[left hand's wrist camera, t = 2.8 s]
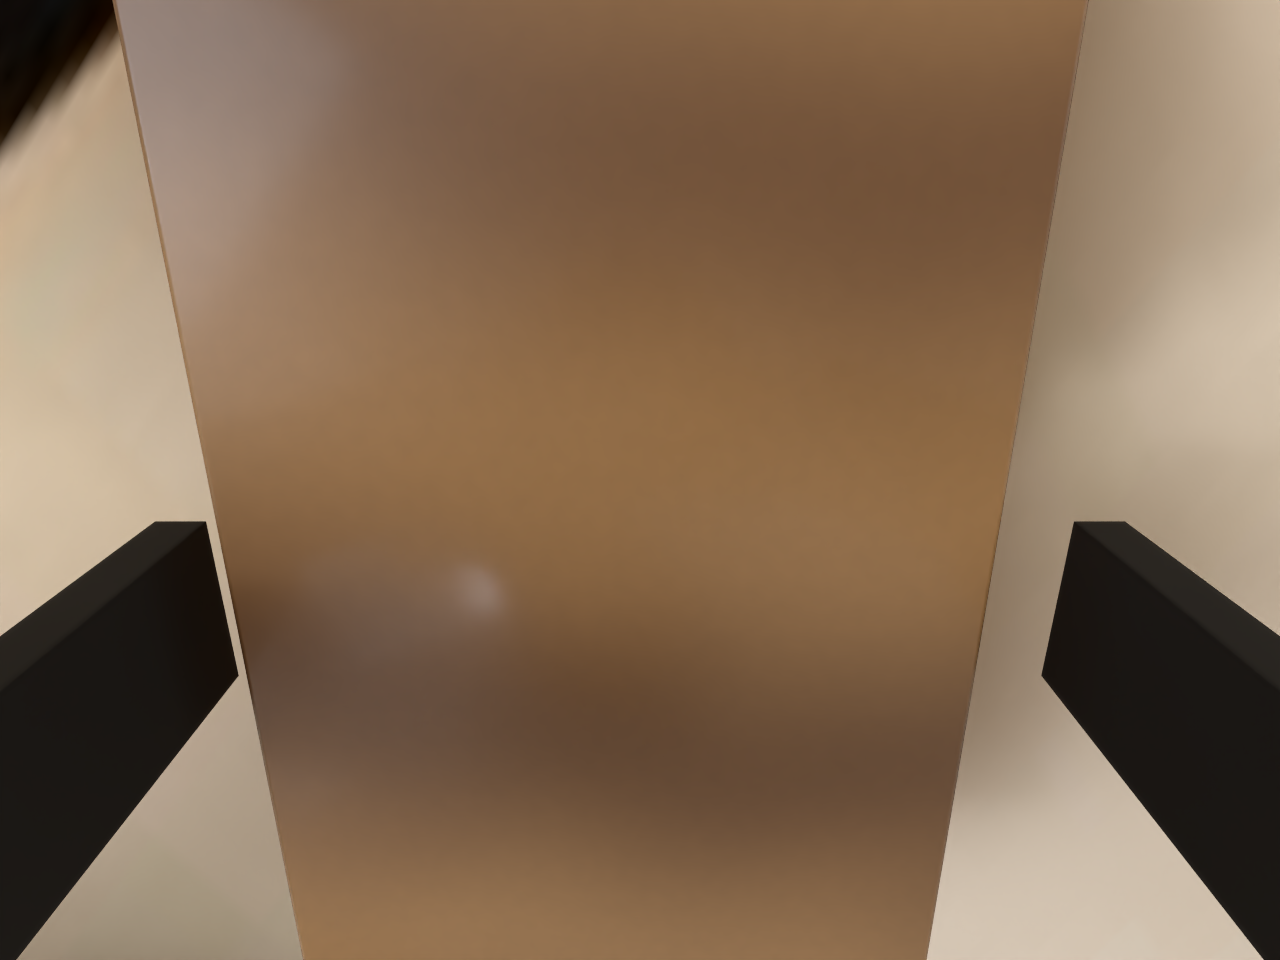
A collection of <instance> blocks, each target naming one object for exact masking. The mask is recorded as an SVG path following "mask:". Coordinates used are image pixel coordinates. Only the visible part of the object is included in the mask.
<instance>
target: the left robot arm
mask: <svg viewBox="0 0 1280 960" xmlns="http://www.w3.org/2000/svg"><path fill="white" fill-rule="evenodd" d="M238 676H239V675H238V671H237V666H236V661H235V656H234V652H233V647H232V642H231V638H230V633H229V628H228V623H227V619H226V614H225V609H224V605H223V600H222V595H221V590H220V586H219V581H218V576H217V572H216V567H215V562H214V558H213V553H212V548H211V543H210V539H209V534H208V529H207V525H206V522H154V523H153V524H151V525H150V526H149V527H147V528H146V529H144V530H143V531H142V532H140V533H139V534H138V535H136V536H135V537H134V538H132V539H131V540H130V541H128V542H127V543H126V544H124V545H123V546H122V547H120V548H119V549H117V550H116V551H115V552H113V553H112V554H111V555H109V556H108V557H107V558H105V559H104V560H103V561H101V562H100V563H99V564H97V565H96V566H94V567H93V568H92V569H90V570H89V571H88V572H86V573H85V574H84V575H82V576H81V577H80V578H78V579H77V580H76V581H74V582H73V583H72V584H70V585H69V586H67V587H66V588H65V589H63V590H62V591H61V592H59V593H58V594H57V595H55V596H54V597H53V598H51V599H50V600H49V601H47V602H46V603H45V604H43V605H42V606H40V607H39V608H38V609H36V610H35V611H34V612H32V613H31V614H30V615H28V616H27V617H26V618H24V619H23V620H22V621H20V622H19V623H18V624H16V625H15V626H13V627H12V628H11V629H9V630H8V631H7V632H5V633H4V634H3V635H1V636H0V960H16V959H17V958H18V957H19V955H20V954H21V953H22V952H23V950H24V949H25V948H26V947H27V945H28V944H29V943H30V941H31V940H32V939H33V938H34V936H35V935H36V934H37V932H38V931H39V930H40V929H41V927H42V926H43V925H44V924H45V922H46V921H47V920H48V918H49V917H50V916H51V915H52V913H53V912H54V911H55V909H56V908H57V907H58V906H59V904H60V903H61V902H62V901H63V899H64V898H65V897H66V895H67V894H68V893H69V892H70V890H71V889H72V888H73V886H74V885H75V884H76V883H77V881H78V880H79V879H80V878H81V876H82V875H83V874H84V872H85V871H86V870H87V869H88V867H89V866H90V865H91V863H92V862H93V861H94V860H95V858H96V857H97V856H98V855H99V853H100V852H101V851H102V849H103V848H104V847H105V846H106V844H107V843H108V842H109V840H110V839H111V838H112V837H113V835H114V834H115V833H116V832H117V830H118V829H119V828H120V826H121V825H122V824H123V823H124V821H125V820H126V819H127V817H128V816H129V815H130V814H131V812H132V811H133V810H134V809H135V807H136V806H137V805H138V803H139V802H140V801H141V800H142V798H143V797H144V796H145V794H146V793H147V792H148V791H149V789H150V788H151V787H152V786H153V784H154V783H155V782H156V780H157V779H158V778H159V777H160V775H161V774H162V773H163V771H164V770H165V769H166V768H167V766H168V765H169V764H170V763H171V761H172V760H173V759H174V757H175V756H176V755H177V754H178V752H179V751H180V750H181V748H182V747H183V746H184V745H185V743H186V742H187V741H188V740H189V738H190V737H191V736H192V734H193V733H194V732H195V731H196V729H197V728H198V727H199V725H200V724H201V723H202V722H203V720H204V719H205V718H206V717H207V715H208V714H209V713H210V711H211V710H212V709H213V708H214V706H215V705H216V704H217V702H218V701H219V700H220V699H221V697H222V696H223V695H224V694H225V692H226V691H227V690H228V688H229V687H230V686H231V685H232V683H233V682H234V681H235V679H236V678H237V677H238ZM1041 676H1042V677H1043V678H1044V679H1045V681H1046V682H1047V683H1048V685H1049V686H1050V687H1051V688H1052V690H1053V691H1054V692H1055V694H1056V695H1057V696H1058V697H1059V699H1060V700H1061V701H1062V702H1063V704H1064V705H1065V706H1066V708H1067V709H1068V710H1069V711H1070V713H1071V714H1072V715H1073V717H1074V718H1075V719H1076V720H1077V722H1078V723H1079V724H1080V725H1081V727H1082V728H1083V729H1084V731H1085V732H1086V733H1087V734H1088V736H1089V737H1090V738H1091V740H1092V741H1093V742H1094V743H1095V745H1096V746H1097V747H1098V748H1099V750H1100V751H1101V752H1102V754H1103V755H1104V756H1105V757H1106V759H1107V760H1108V761H1109V763H1110V764H1111V765H1112V766H1113V768H1114V769H1115V770H1116V771H1117V773H1118V774H1119V775H1120V777H1121V778H1122V779H1123V780H1124V782H1125V783H1126V784H1127V786H1128V787H1129V788H1130V789H1131V791H1132V792H1133V793H1134V794H1135V796H1136V797H1137V798H1138V800H1139V801H1140V802H1141V803H1142V805H1143V806H1144V807H1145V809H1146V810H1147V811H1148V812H1149V814H1150V815H1151V816H1152V817H1153V819H1154V820H1155V821H1156V823H1157V824H1158V825H1159V826H1160V828H1161V829H1162V830H1163V832H1164V833H1165V834H1166V835H1167V837H1168V838H1169V839H1170V840H1171V842H1172V843H1173V844H1174V846H1175V847H1176V848H1177V849H1178V851H1179V852H1180V853H1181V855H1182V856H1183V857H1184V858H1185V860H1186V861H1187V862H1188V863H1189V865H1190V866H1191V867H1192V869H1193V870H1194V871H1195V872H1196V874H1197V875H1198V876H1199V878H1200V879H1201V880H1202V881H1203V883H1204V884H1205V885H1206V886H1207V888H1208V889H1209V890H1210V892H1211V893H1212V894H1213V895H1214V897H1215V898H1216V899H1217V901H1218V902H1219V903H1220V904H1221V906H1222V907H1223V908H1224V909H1225V911H1226V912H1227V913H1228V915H1229V916H1230V917H1231V918H1232V920H1233V921H1234V922H1235V924H1236V925H1237V926H1238V927H1239V929H1240V930H1241V931H1242V932H1243V934H1244V935H1245V936H1246V938H1247V939H1248V940H1249V941H1250V943H1251V944H1252V945H1253V947H1254V948H1255V949H1256V950H1257V952H1258V953H1259V954H1260V955H1261V957H1262V958H1263V959H1264V960H1280V636H1279V635H1277V634H1276V633H1275V632H1273V631H1272V630H1271V629H1269V628H1268V627H1267V626H1265V625H1264V624H1262V623H1261V622H1260V621H1258V620H1257V619H1256V618H1254V617H1253V616H1252V615H1250V614H1249V613H1248V612H1246V611H1245V610H1244V609H1242V608H1241V607H1240V606H1238V605H1237V604H1235V603H1234V602H1233V601H1231V600H1230V599H1229V598H1227V597H1226V596H1225V595H1223V594H1222V593H1221V592H1219V591H1218V590H1217V589H1215V588H1214V587H1213V586H1211V585H1210V584H1208V583H1207V582H1206V581H1204V580H1203V579H1202V578H1200V577H1199V576H1198V575H1196V574H1195V573H1194V572H1192V571H1191V570H1190V569H1188V568H1187V567H1186V566H1184V565H1183V564H1181V563H1180V562H1179V561H1177V560H1176V559H1175V558H1173V557H1172V556H1171V555H1169V554H1168V553H1167V552H1165V551H1164V550H1163V549H1161V548H1160V547H1158V546H1157V545H1156V544H1154V543H1153V542H1152V541H1150V540H1149V539H1148V538H1146V537H1145V536H1144V535H1142V534H1141V533H1140V532H1138V531H1137V530H1136V529H1134V528H1133V527H1131V526H1130V525H1129V524H1127V523H1126V522H1074V525H1073V529H1072V534H1071V539H1070V543H1069V548H1068V553H1067V558H1066V562H1065V567H1064V572H1063V576H1062V581H1061V586H1060V590H1059V595H1058V600H1057V605H1056V609H1055V614H1054V619H1053V623H1052V628H1051V633H1050V638H1049V642H1048V647H1047V652H1046V656H1045V661H1044V666H1043V671H1042V675H1041Z"/></svg>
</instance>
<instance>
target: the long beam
mask: <svg viewBox="0 0 1280 960" xmlns="http://www.w3.org/2000/svg"><path fill="white" fill-rule="evenodd" d="M113 5H114V10H115V15H116V20H117V25H118V30H119V35H120V40H121V45H122V50H123V55H124V60H125V65H126V70H127V76H128V81H129V86H130V91H131V96H132V101H133V106H134V111H135V116H136V121H137V126H138V131H139V136H140V141H141V146H142V151H143V156H144V161H145V166H146V171H147V176H148V181H149V186H150V191H151V196H152V201H153V206H154V211H155V216H156V221H157V226H158V231H159V236H160V241H161V247H162V252H163V257H164V262H165V267H166V272H167V277H168V282H169V287H170V292H171V297H172V302H173V307H174V312H175V317H176V322H177V327H178V332H179V337H180V342H181V347H182V352H183V357H184V362H185V367H186V372H187V377H188V382H189V387H190V392H191V397H192V402H193V407H194V412H195V417H196V423H197V428H198V433H199V438H200V443H201V448H202V453H203V458H204V463H205V468H206V473H207V478H208V483H209V488H210V493H211V498H212V503H213V508H214V513H215V518H216V523H217V528H218V533H219V538H220V543H221V548H222V553H223V558H224V563H225V568H226V573H227V578H228V583H229V588H230V594H231V599H232V604H233V609H234V614H235V619H236V624H237V629H238V634H239V639H240V644H241V649H242V654H243V659H244V664H245V669H246V674H247V679H248V684H249V689H250V694H251V699H252V704H253V709H254V714H255V719H256V724H257V729H258V734H259V739H260V744H261V749H262V754H263V759H264V765H265V770H266V775H267V780H268V785H269V790H270V795H271V800H272V805H273V810H274V815H275V820H276V825H277V830H278V835H279V840H280V845H281V850H282V855H283V860H284V865H285V870H286V875H287V880H288V885H289V890H290V895H291V900H292V905H293V910H294V915H295V920H296V925H297V930H298V935H299V941H300V946H301V951H302V956H303V960H926V959H927V953H928V948H929V942H930V936H931V930H932V924H933V918H934V912H935V906H936V900H937V894H938V888H939V882H940V877H941V871H942V865H943V859H944V853H945V847H946V841H947V835H948V829H949V823H950V817H951V811H952V805H953V800H954V794H955V788H956V782H957V776H958V770H959V764H960V758H961V752H962V746H963V740H964V734H965V729H966V723H967V717H968V711H969V705H970V699H971V693H972V687H973V681H974V675H975V669H976V663H977V657H978V652H979V646H980V640H981V634H982V628H983V622H984V616H985V610H986V604H987V598H988V592H989V586H990V581H991V575H992V569H993V563H994V557H995V551H996V545H997V539H998V533H999V527H1000V521H1001V515H1002V509H1003V504H1004V498H1005V492H1006V486H1007V480H1008V474H1009V468H1010V462H1011V456H1012V450H1013V444H1014V438H1015V433H1016V427H1017V421H1018V415H1019V409H1020V403H1021V397H1022V391H1023V385H1024V379H1025V373H1026V367H1027V361H1028V356H1029V350H1030V344H1031V338H1032V332H1033V326H1034V320H1035V314H1036V308H1037V302H1038V296H1039V290H1040V285H1041V279H1042V273H1043V267H1044V261H1045V255H1046V249H1047V243H1048V237H1049V231H1050V225H1051V219H1052V213H1053V208H1054V202H1055V196H1056V190H1057V184H1058V178H1059V172H1060V166H1061V160H1062V154H1063V148H1064V142H1065V137H1066V131H1067V125H1068V119H1069V113H1070V107H1071V101H1072V95H1073V89H1074V83H1075V77H1076V71H1077V65H1078V60H1079V54H1080V48H1081V42H1082V36H1083V30H1084V24H1085V18H1086V12H1087V6H1088V0H113Z"/></svg>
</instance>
